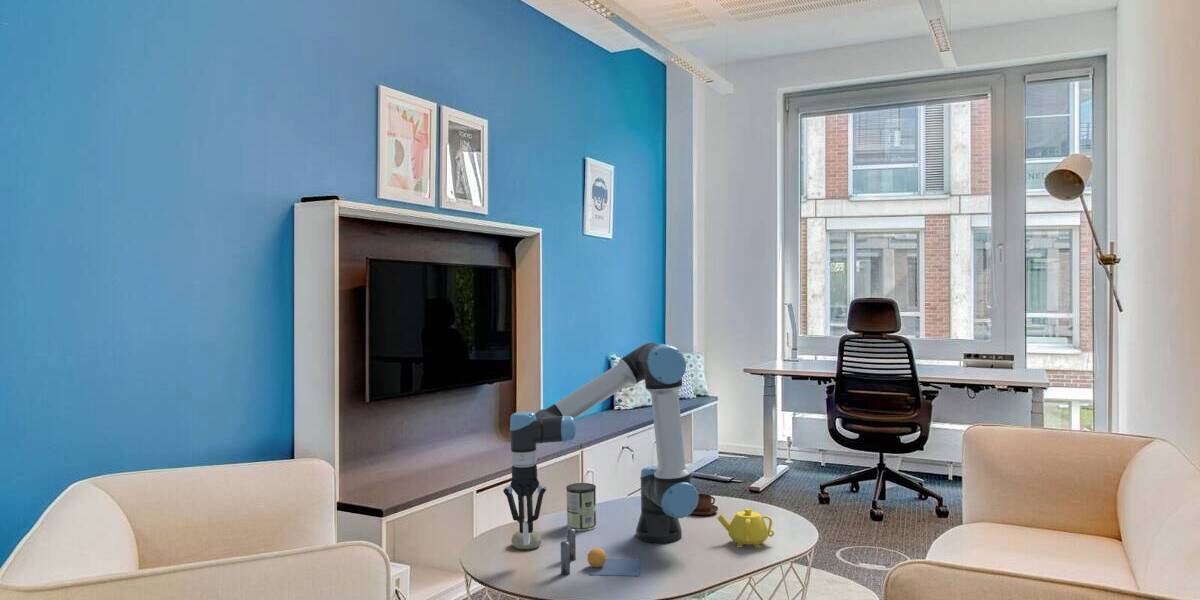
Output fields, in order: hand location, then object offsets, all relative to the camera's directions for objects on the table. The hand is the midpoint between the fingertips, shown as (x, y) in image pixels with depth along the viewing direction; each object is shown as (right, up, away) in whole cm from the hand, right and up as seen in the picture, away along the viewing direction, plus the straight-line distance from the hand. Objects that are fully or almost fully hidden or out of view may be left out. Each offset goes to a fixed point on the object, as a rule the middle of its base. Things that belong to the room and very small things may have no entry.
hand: (526, 543), depth 234 cm
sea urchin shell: (-2, -7, +18) cm, 19 cm away
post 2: (+13, -6, +5) cm, 15 cm away
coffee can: (+15, -6, +39) cm, 42 cm away
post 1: (+12, -6, -8) cm, 15 cm away
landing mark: (+26, -6, -3) cm, 27 cm away
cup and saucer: (+59, -6, +55) cm, 81 cm away
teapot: (+69, -6, +19) cm, 72 cm away
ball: (+21, -3, -2) cm, 21 cm away
